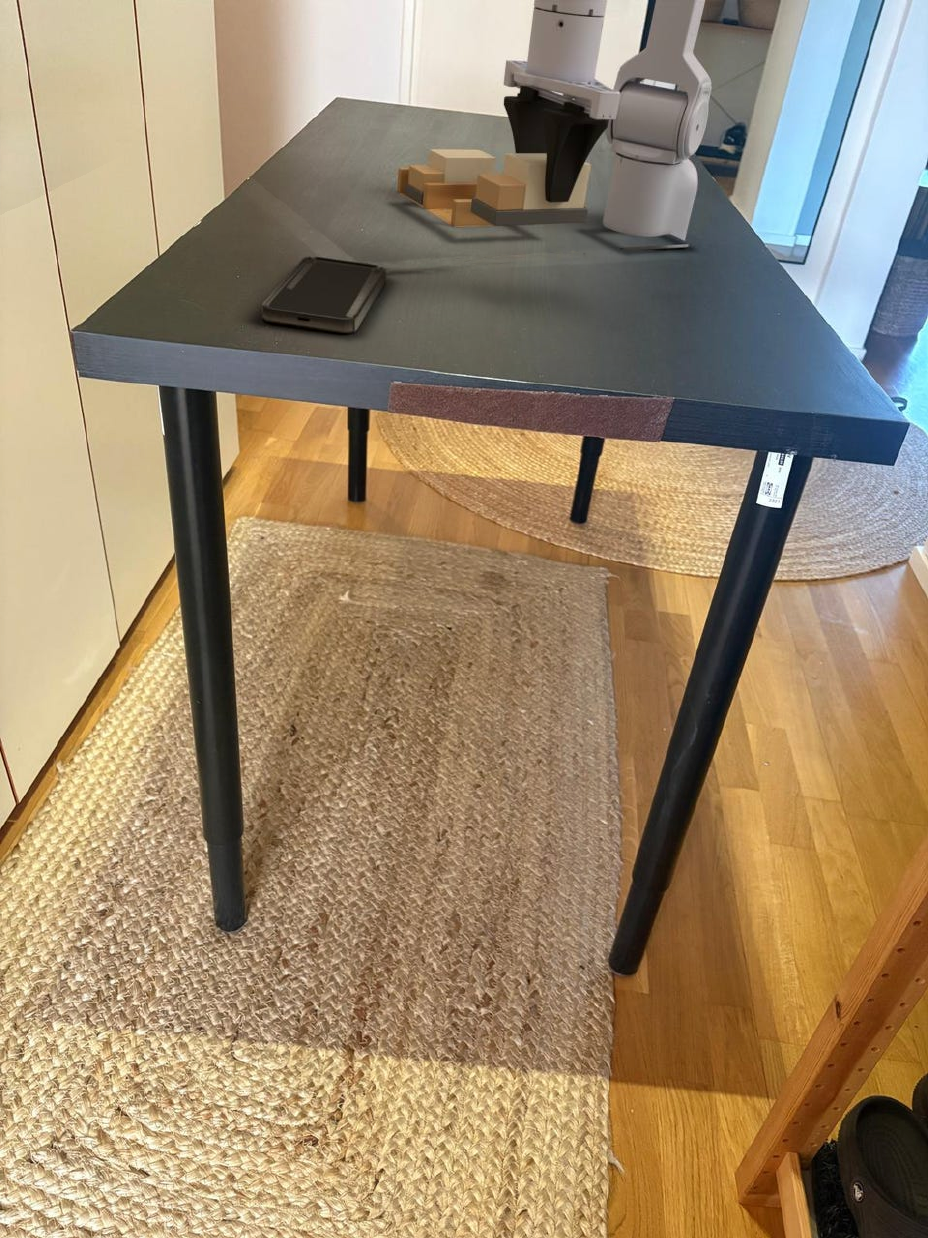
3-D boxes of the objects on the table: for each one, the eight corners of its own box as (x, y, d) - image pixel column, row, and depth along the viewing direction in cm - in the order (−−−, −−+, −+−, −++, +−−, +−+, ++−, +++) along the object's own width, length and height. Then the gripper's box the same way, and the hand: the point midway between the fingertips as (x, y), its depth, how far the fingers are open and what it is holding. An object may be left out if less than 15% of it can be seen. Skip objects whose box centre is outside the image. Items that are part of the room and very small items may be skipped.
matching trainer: (476, 192, 110) (481, 148, 107) (494, 202, 107) (499, 157, 104) (404, 194, 106) (406, 148, 103) (421, 204, 103) (424, 157, 100)
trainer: (559, 208, 86) (568, 152, 83) (586, 222, 83) (596, 164, 80) (469, 211, 81) (475, 152, 78) (494, 226, 78) (501, 165, 76)
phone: (388, 266, 85) (354, 320, 73) (387, 279, 85) (353, 334, 74) (304, 254, 85) (257, 306, 73) (304, 267, 86) (257, 320, 74)
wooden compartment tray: (470, 202, 112) (474, 167, 110) (531, 237, 102) (536, 199, 100) (396, 204, 108) (398, 167, 105) (452, 240, 98) (456, 201, 96)
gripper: (481, -4, 76) (465, 173, 85) (578, 21, 67) (549, 218, 75) (552, 2, 79) (529, 172, 88) (654, 27, 70) (618, 215, 78)
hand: (543, 193), depth 81 cm, fingers closed on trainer, 4 cm apart
